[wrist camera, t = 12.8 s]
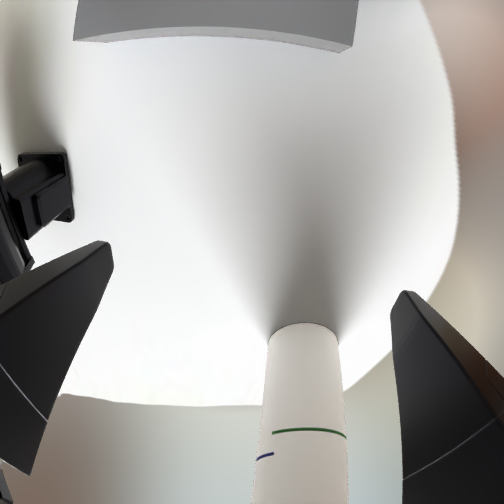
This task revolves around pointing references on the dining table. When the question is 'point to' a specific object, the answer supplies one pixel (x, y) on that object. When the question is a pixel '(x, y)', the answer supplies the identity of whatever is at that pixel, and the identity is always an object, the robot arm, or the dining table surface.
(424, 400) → the robot arm
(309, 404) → the cylindrical container
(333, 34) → the socket block
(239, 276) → the dining table surface
